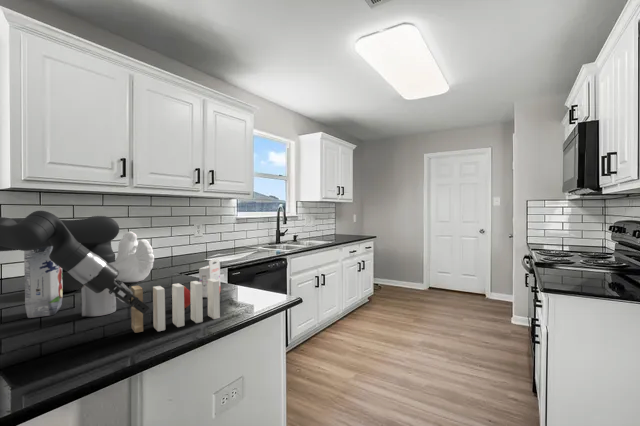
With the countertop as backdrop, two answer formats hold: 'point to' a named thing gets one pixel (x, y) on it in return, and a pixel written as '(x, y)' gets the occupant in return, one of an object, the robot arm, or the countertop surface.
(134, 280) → the decorative rooster
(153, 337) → the countertop surface
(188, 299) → the onion
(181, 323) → the domino
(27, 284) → the juice carton
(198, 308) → the domino
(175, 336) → the countertop surface
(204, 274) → the ink cartridge box
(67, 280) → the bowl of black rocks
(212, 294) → the domino
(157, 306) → the domino
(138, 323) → the maple tile
